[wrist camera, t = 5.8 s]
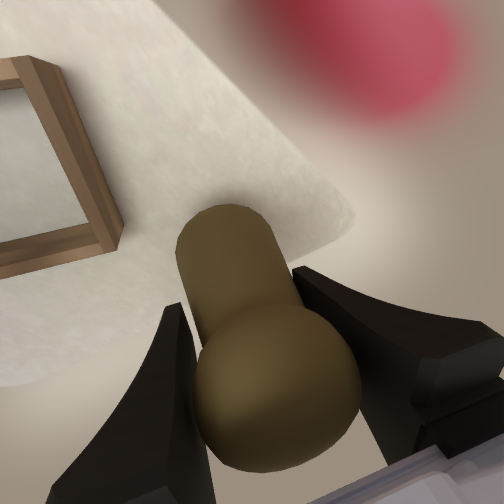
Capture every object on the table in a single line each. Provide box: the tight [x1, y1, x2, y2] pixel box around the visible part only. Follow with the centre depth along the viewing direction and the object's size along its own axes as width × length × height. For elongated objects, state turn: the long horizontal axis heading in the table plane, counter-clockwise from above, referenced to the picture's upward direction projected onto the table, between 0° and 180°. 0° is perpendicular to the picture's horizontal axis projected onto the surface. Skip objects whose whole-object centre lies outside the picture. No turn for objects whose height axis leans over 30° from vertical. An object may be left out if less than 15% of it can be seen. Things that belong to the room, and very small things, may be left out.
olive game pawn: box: [175, 204, 362, 473], centre depth 12 cm, size 6×6×11 cm
